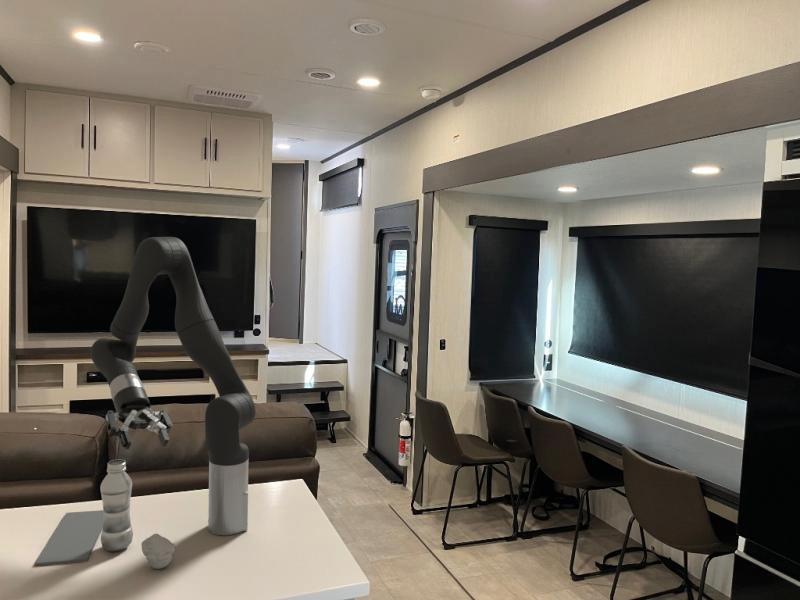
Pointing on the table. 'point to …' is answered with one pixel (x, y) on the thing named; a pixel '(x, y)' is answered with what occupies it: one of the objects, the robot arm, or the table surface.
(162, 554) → the grey cupcake
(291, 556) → the table surface
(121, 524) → the plastic bottle
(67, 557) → the charcoal rubber mat
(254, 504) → the table surface
